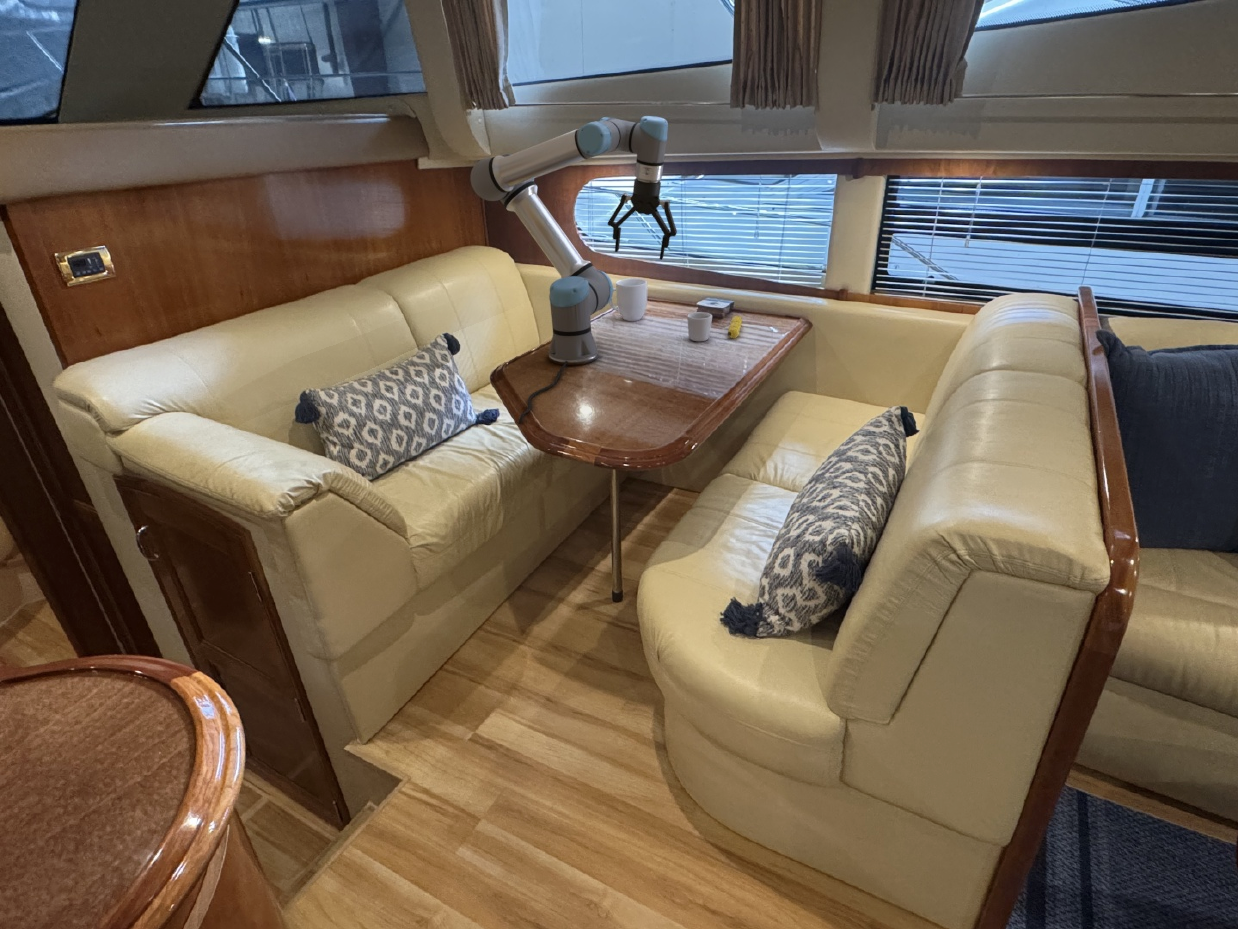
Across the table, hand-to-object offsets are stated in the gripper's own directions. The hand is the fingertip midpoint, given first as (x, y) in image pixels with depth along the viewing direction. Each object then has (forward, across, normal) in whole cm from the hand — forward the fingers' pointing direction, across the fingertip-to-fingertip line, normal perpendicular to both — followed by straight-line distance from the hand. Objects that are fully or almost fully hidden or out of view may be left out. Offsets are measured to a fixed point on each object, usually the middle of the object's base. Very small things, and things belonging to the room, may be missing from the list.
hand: (639, 254), depth 198 cm
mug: (+33, -4, +27) cm, 43 cm away
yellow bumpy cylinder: (+26, +34, +15) cm, 45 cm away
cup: (+27, +22, +8) cm, 36 cm away
